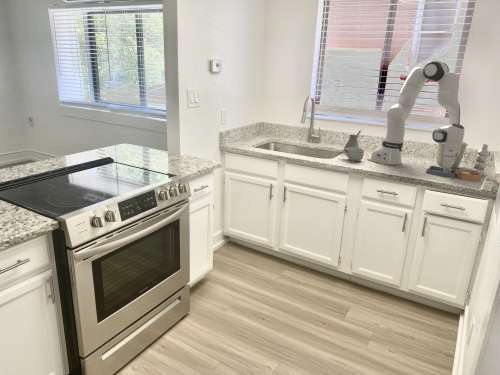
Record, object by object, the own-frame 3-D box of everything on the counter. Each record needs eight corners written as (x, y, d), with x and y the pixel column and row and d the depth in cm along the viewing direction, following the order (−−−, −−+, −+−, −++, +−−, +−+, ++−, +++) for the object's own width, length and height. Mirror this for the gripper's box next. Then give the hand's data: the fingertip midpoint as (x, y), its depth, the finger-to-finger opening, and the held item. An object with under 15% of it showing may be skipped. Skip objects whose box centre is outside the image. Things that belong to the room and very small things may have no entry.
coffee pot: (356, 155, 275) (359, 134, 270) (341, 152, 280) (343, 132, 276) (365, 150, 291) (368, 131, 287) (351, 148, 297) (353, 129, 293)
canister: (463, 166, 258) (470, 136, 251) (460, 172, 244) (468, 139, 237) (435, 161, 268) (441, 132, 261) (430, 166, 253) (436, 135, 246)
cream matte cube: (442, 174, 234) (443, 169, 233) (443, 172, 237) (444, 167, 236) (450, 175, 231) (451, 170, 230) (451, 174, 234) (452, 169, 233)
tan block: (461, 176, 231) (462, 171, 230) (469, 177, 229) (470, 172, 228) (460, 177, 228) (461, 172, 227) (467, 179, 226) (469, 174, 225)
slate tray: (425, 174, 235) (426, 169, 234) (430, 169, 245) (431, 165, 244) (453, 179, 226) (454, 174, 225) (456, 174, 237) (457, 170, 236)
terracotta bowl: (455, 179, 226) (457, 172, 225) (458, 175, 236) (460, 168, 234) (478, 184, 220) (480, 176, 218) (480, 179, 229) (482, 172, 228)
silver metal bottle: (470, 176, 235) (478, 144, 229) (471, 174, 240) (479, 143, 234) (482, 178, 232) (490, 146, 225) (483, 176, 237) (491, 144, 231)
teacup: (365, 160, 260) (367, 149, 258) (358, 163, 253) (359, 151, 250) (347, 156, 269) (348, 145, 267) (339, 159, 261) (341, 147, 259)
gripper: (449, 147, 239) (444, 168, 244) (443, 152, 223) (438, 175, 228) (460, 149, 236) (455, 170, 240) (455, 154, 220) (449, 177, 224)
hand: (447, 172), depth 234 cm, fingers closed on cream matte cube, 4 cm apart
